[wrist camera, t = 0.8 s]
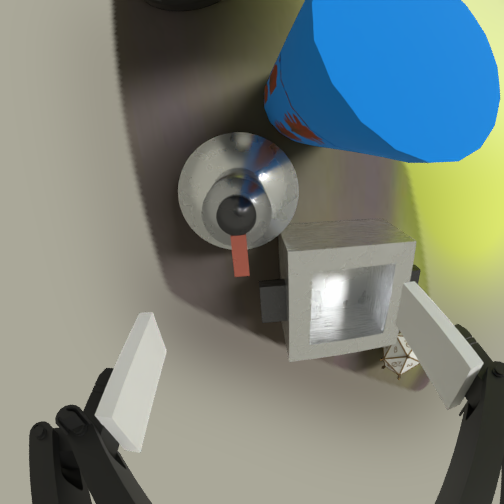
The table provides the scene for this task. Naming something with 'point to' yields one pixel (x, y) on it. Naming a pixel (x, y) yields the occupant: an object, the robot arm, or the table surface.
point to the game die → (399, 356)
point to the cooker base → (338, 286)
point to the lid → (238, 193)
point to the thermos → (386, 79)
